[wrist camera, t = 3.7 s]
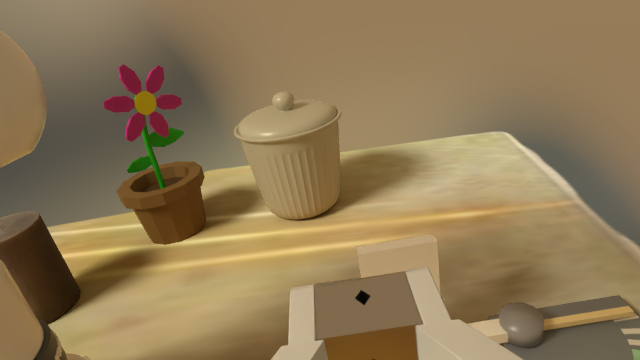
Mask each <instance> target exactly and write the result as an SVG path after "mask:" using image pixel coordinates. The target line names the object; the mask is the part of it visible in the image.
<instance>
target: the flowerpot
mask: <svg viewBox="0 0 640 360" xmlns="http://www.w3.org/2000/svg"><path fill="white" fill-rule="evenodd" d="M118 69H119V76H120V80H121V82H122V83H123V85H124V86H125V87H126V89H127V90H128V91H130V92H132V93H134V94H135V95H136V96H135V98H134V100H133V99H130V98H129V97H126V96H119V97H118V96H117V97H111V98H109V99H107V100H106V101H104V102H103V105H104V108H105V109H107V110H110V111H112V112H129V111H130V110H131V109H133V108H134V107H135V109H136V110H137V113H135V114H134V115H133V116H131V117H130V119H129V121H128V123H127V126H126V139H127V140H129V141H133V140H135V139H136V138H137V137H138V136H140V135H141V133H142V135H143V139H144V143H145V146H146V149H147V152H148V155H149V156H146V157H140V158H138V159H137V160H135V161H133V162H132V163H131V165H130V166H129V167H128V169H127V171H128V173H133V172H139V171H142V170H145V169H146V168H148V167H149V166H150V165H151V164H152V166H153V168H150V169H148V170H145V171H142V172H140V173H138V174H136V175H134V176H133V177H131V178H129V179H128V180H126V181H124V182H123V183H122V185H121V186H120V188H119V189H118V190H117V193H118V195H119V198H120V200H121V202H122V203H123V205H124V206H125V207H126V208H129V209H133V210H134V212H135V214H136V215H137V217H138V219H139V220H140V222H141V224H142V225H143V227H144V229H145V231H146V232H147V234H148V236H149V237H150V239H151V240H152V241H153V242H154V243H157V244H165V245H166V244H170V243H175V242H180V241H182V240H185V239H187V238H189V237H191V236H193V235H195V234H196V233H197V232H198V231H200V230H201V229H202V228H203V227H204V225H205V221H206V217H205V211H204V205H203V200H202V194H201V188H200V186H201V185H202V183H203V180H204V174H203V171H202V167H201V166H200V165H198V164H196V163H195V162H174V163H169V164H164V165H159V166H158V163H157V160H156V158H155V155H154V152H153V149H152V146H153V147H165V146H166V145H169V144H171V143H173V142H175V141H176V140H177V139H178V138H179V137H181V136H182V135H183V134H184V132H183V131H180V130H177V129H174V128H170V127H169V128H168V124H167V122H166V121H165V119H164V118H163V116H162V115H161V114H159V113H157V112H155V111H154V110H155V108H156V106H157V107H159V108H161V109H175V108H176V107H178V106H179V105H181V104H182V103H181V98H179V97H177V96H174V95H160V96H159V97H158V98H156V99H155V97H154V96H153V93H155V92H157V91H158V90H160V87H161V85H162V83H163V80H164V71H163V68H162V67H160V66H157V67H155V68H154V69H153V70H152V71H150V72H149V75H148V77H147V79H146V82H145V84H146V91H141V82H140V80H139V78H138V77H137V75H136V74H135V72H134V71H133V70H131V69H130V68H128V67H127V66H125V65H122V66H120V67H119V68H118ZM148 114H149V123H150V125H151V126H152V128H153V129H154V132H153V133H151V134H150V135H149V134H148V131H147V127H146V119H145V115H148Z"/></svg>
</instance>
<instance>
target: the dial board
mask: <svg viewBox="0 0 640 360" xmlns="http://www.w3.org/2000/svg"><path fill="white" fill-rule="evenodd" d="M624 306H629V305H628V304H627V303H626V302H625V301H624V300H623V299H622V298H621V297H620V296H619V295H618V296H612V297H606V298H600V299H593V300H587V301H581V302H575V303H569V304H563V305H557V306H551V307H544V308H538V310H539V311H540V312H541V313H542V315H543V317H544V319H551V318H557V317H563V316H569V315H575V314H581V313H587V312H594V311H600V310H606V309H612V308H618V307H624ZM629 307H630V306H629ZM630 308H631V307H630ZM631 309H632V310H633V311H634V315H633V316H630V317H624V318H618V319H612V320H606V321H600V322H593V323H587V324H581V325H575V326H569V327H563V328H556V329H550V330H544V331H543V339H542V341H541V342H540V343H539V344H538V345H536V346H534V347H528V348H524V347H518V346H515V345H512V344H510V343H508V342H506V343H500V345H501V346H503V347H504V348H506V349H507V350H509V351H511V352H512V353H514V354H515V355H517V356H519V357H520V358H522V359H523V360H640V315H639V314H638V313H637V312H636V311H635V310H634V309H633V308H631ZM493 319H499V315H495V316H489V317H488V320H493Z"/></svg>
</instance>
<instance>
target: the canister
mask: <svg viewBox="0 0 640 360" xmlns="http://www.w3.org/2000/svg"><path fill="white" fill-rule="evenodd" d="M272 101H273V105H271V106H268V107H265V108H262V109H259V110H257V111H255V112H253V113H251V114H249V115H248V116H246V117H245V118H244V119H243V120H242V121H241V122H240V123H239V124H238V125H237V126H236V127H235V129H234V135H235V136H236V138H238V139H239V140H240V141H241V143H242V146H243V149H244V151H245V154H246V156H247V159H248V162H249V164H250V167H251V170H252V172H253V175H254V177H255V180H256V182H257V185H258V187H259V190H260V192H261V194H262V197H263V199H264V201H265V203H266V205H267V207H268V208H269V209H270V211H271V212H272V213H274V214H275V215H276V216H279V217H281V218H284V219H294V220H296V219H299V220H300V219H306V218H311V217H314V216H316V215H320V214H321V213H324V212H325V211H327V210H329V208H331V207H332V206H333V205H334V204H335V202H336V201H337V199H338V197H339V193H340V151H339V128H338V119H339V118H340V116H341V110H340V109H339V108H338V107H337V106H335V105H331V104H329V103H327V102H324V101H319V100H297V101H294V97H293V95H292V94H291V93H289V92H279V93H277V94H275V96H274V97H273V100H272Z"/></svg>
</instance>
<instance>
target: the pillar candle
mask: <svg viewBox="0 0 640 360" xmlns="http://www.w3.org/2000/svg"><path fill="white" fill-rule="evenodd" d="M0 260H2V261H3V263H4V264H5V266H6V268H7V269H8V271H9V273H10V274H11V276H12V278H13V279H14V281H15V283H16V284H17V286H18V288H19V289H20V291H21V293H22V294H23V296H24V298H25V299H26V301H27V303H28V304H29V306H30V308H31V309H32V311H33V313H34V314H35V316H36V318H38V319H40V320H43V321H44V322H45V323H46V324H48V323H50V322H52V321H54V320H56V319H57V318H59V317H60V316H62V315H63V314H64V313H66V312H67V311H68V310H69V309H70V308H72V306H73V305H74V304H75V303H76V302H77V301H78V299H79V296H80V289H79V287H78V285H77V283H76V281H75V279H74V278H73V276H72V274H71V272H70V270H69V268H68V266H67V264H66V262H65V260H64V259H63V257H62V255H61V253H60V251H59V250H58V248H57V246H56V244H55V242H54V240H53V238H52V237H51V235H50V233H49V231H48V229H47V227H46V225H45V223H44V221H43V220H42V218H41V216H40V214H39V213H37V212H33V211H28V212H21V213H17V214H13V215H9V216H7V217H3V218H0Z"/></svg>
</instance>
